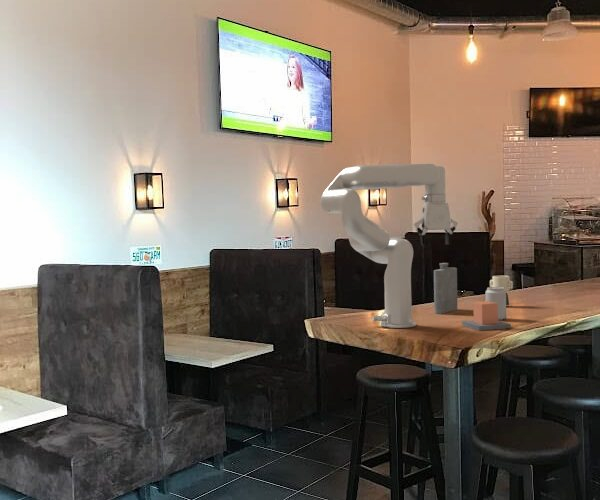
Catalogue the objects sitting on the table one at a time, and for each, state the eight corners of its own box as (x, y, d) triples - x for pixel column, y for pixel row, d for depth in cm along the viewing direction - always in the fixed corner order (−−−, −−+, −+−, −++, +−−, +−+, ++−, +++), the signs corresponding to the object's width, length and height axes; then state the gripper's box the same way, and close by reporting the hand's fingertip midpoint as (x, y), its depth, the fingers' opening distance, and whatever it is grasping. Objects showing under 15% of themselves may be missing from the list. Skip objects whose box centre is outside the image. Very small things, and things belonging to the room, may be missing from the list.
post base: (479, 330, 218) (478, 311, 218) (462, 325, 230) (461, 307, 230) (510, 328, 221) (510, 309, 221) (492, 323, 233) (492, 305, 232)
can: (491, 321, 237) (491, 288, 237) (482, 318, 245) (481, 286, 244) (510, 320, 239) (509, 287, 238) (500, 317, 246) (499, 286, 246)
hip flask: (440, 314, 258) (439, 264, 257) (431, 313, 260) (430, 264, 260) (458, 309, 270) (458, 261, 269) (450, 308, 272) (449, 261, 272)
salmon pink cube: (482, 324, 222) (481, 304, 221) (473, 321, 228) (473, 302, 227) (497, 323, 223) (497, 303, 223) (489, 320, 229) (488, 301, 229)
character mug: (517, 306, 274) (517, 276, 273) (508, 308, 269) (507, 277, 268) (494, 304, 282) (494, 274, 281) (485, 306, 277) (485, 276, 277)
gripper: (417, 199, 235) (418, 246, 236) (461, 198, 239) (461, 244, 240) (409, 200, 242) (410, 245, 243) (451, 199, 246) (452, 244, 247)
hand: (436, 245), depth 241 cm, fingers open, 9 cm apart
